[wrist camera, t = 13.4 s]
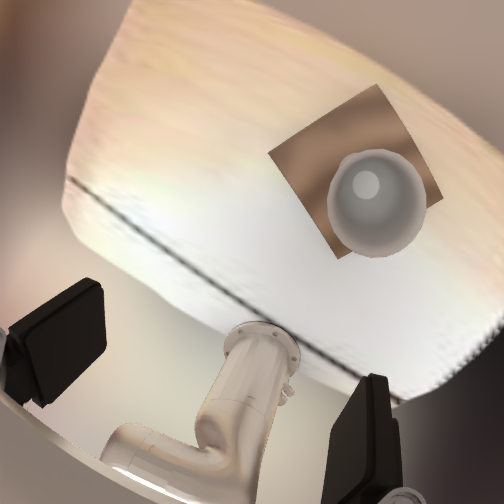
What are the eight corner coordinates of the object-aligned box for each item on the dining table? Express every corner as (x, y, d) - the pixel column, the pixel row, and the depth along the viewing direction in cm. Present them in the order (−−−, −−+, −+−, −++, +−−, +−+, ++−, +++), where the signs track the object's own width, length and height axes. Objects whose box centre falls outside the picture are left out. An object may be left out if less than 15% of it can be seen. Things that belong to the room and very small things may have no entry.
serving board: (438, 195, 35) (443, 198, 34) (337, 253, 42) (337, 259, 40) (374, 86, 33) (376, 83, 31) (271, 152, 39) (267, 153, 38)
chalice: (332, 140, 35) (330, 143, 19) (388, 146, 34) (432, 156, 17) (328, 200, 38) (322, 252, 21) (382, 206, 36) (416, 263, 20)
